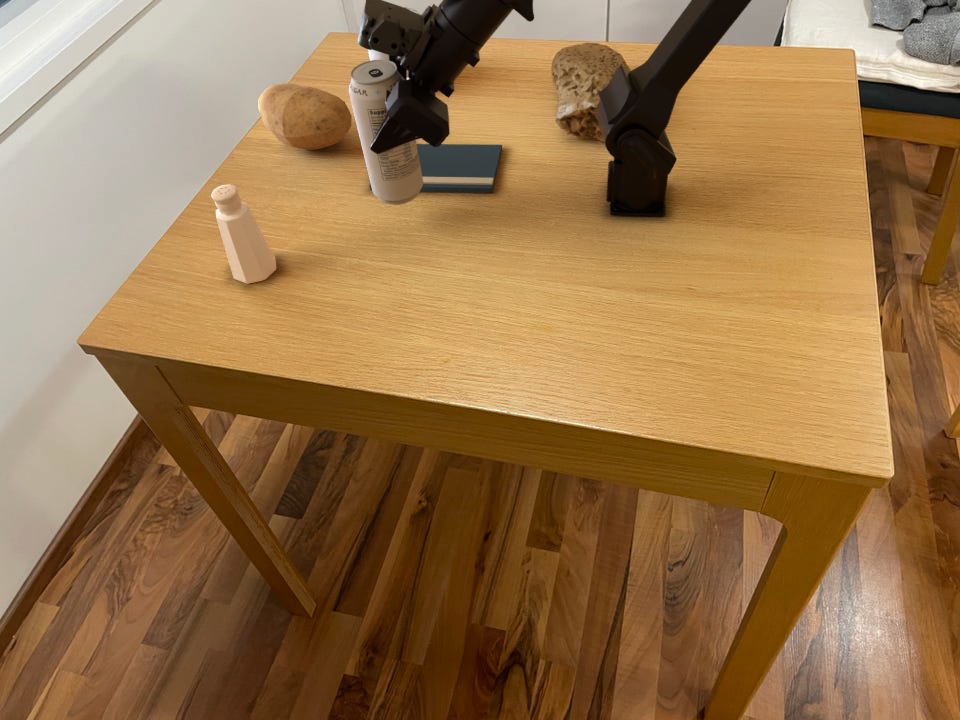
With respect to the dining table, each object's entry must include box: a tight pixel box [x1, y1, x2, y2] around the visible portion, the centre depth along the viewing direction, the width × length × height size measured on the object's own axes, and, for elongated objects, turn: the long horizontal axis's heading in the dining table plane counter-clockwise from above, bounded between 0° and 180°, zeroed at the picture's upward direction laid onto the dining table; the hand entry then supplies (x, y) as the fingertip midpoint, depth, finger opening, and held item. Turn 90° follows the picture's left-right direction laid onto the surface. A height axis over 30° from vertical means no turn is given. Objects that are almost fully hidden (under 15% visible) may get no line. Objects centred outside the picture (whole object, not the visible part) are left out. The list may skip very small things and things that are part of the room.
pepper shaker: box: [210, 184, 277, 285], centre depth 84 cm, size 5×5×11 cm
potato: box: [257, 82, 353, 151], centre depth 103 cm, size 10×14×8 cm
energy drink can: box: [348, 60, 423, 206], centre depth 82 cm, size 6×6×15 cm
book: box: [369, 143, 503, 194], centre depth 98 cm, size 16×10×1 cm, turn 81°
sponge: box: [550, 42, 632, 143], centre depth 104 cm, size 13×8×20 cm
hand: (374, 135), depth 82 cm, fingers closed on energy drink can, 6 cm apart
